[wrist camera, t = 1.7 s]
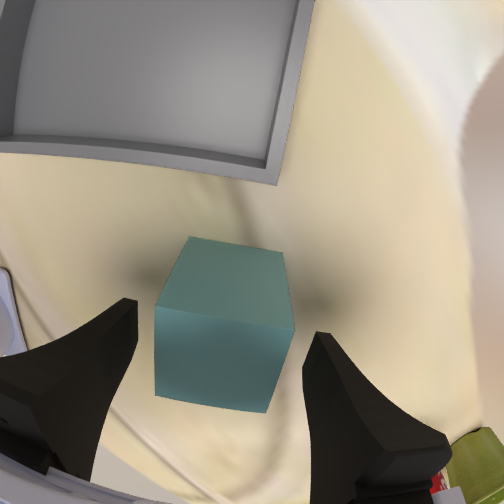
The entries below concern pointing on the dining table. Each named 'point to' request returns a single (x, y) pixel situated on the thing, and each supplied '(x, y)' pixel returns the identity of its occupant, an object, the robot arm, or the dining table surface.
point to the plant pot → (478, 467)
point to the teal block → (223, 326)
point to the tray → (153, 81)
